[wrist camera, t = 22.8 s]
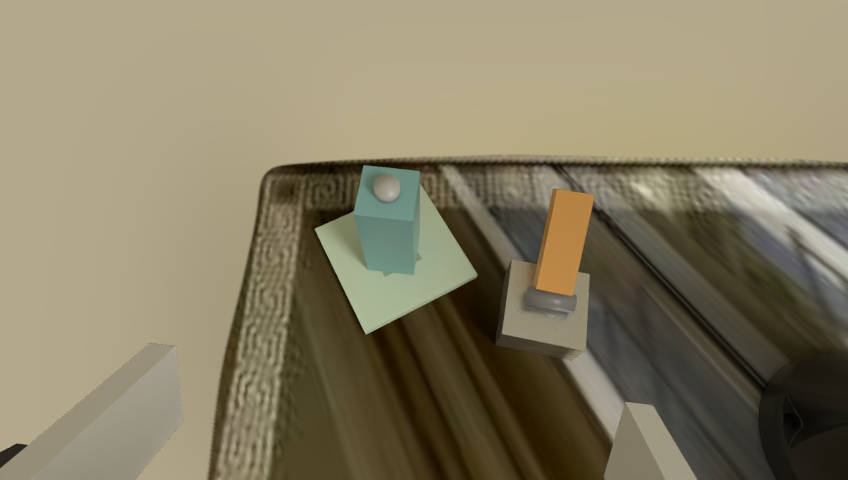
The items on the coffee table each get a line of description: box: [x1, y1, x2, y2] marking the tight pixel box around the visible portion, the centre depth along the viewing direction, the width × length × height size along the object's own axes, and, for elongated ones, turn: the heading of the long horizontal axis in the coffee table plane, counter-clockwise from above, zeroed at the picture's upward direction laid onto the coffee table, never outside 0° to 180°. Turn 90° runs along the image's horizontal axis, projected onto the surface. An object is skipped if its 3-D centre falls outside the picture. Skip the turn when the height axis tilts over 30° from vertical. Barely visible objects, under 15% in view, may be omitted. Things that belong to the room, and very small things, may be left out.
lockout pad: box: [315, 184, 477, 334], centre depth 45 cm, size 12×12×1 cm
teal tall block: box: [353, 165, 420, 275], centre depth 40 cm, size 4×4×12 cm
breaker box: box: [495, 259, 590, 361], centre depth 41 cm, size 7×7×4 cm
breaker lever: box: [524, 189, 595, 313], centre depth 38 cm, size 2×4×10 cm
